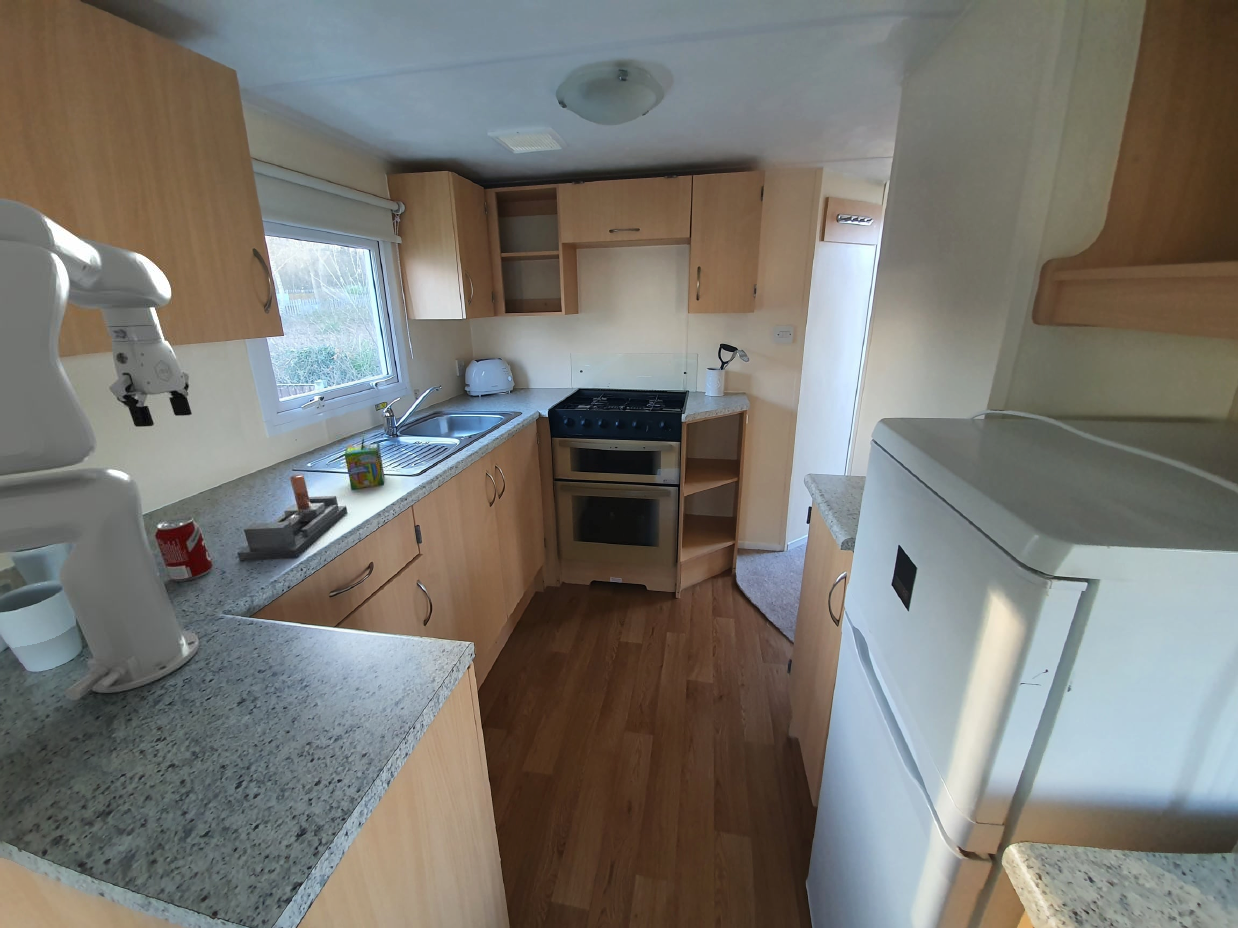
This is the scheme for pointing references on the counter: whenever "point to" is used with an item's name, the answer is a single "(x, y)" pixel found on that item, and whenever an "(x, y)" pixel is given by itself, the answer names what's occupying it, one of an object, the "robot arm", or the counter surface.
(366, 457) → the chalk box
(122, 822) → the counter surface
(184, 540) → the soda can
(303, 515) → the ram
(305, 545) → the base
